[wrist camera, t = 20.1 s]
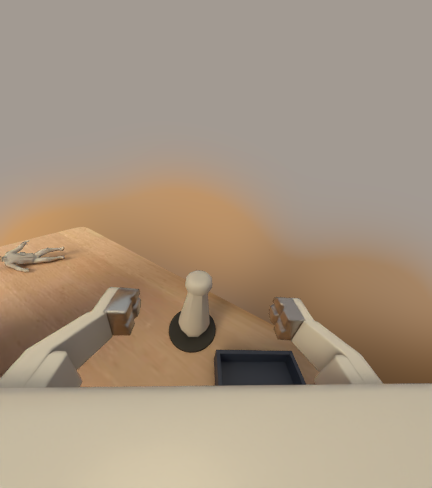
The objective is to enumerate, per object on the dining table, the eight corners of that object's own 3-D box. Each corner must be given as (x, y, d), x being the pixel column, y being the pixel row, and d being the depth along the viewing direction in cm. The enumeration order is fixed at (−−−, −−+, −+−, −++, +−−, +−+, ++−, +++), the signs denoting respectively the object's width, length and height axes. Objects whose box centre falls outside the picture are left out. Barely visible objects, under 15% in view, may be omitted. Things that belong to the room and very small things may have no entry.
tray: (219, 484, 17) (223, 480, 16) (214, 358, 28) (216, 349, 27) (331, 475, 19) (343, 470, 18) (286, 359, 30) (291, 350, 28)
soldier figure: (65, 268, 43) (-14, 273, 33) (61, 272, 46) (-12, 278, 36) (64, 240, 44) (-11, 237, 35) (61, 246, 47) (-9, 244, 38)
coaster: (171, 359, 27) (171, 357, 27) (167, 313, 34) (167, 312, 34) (221, 344, 30) (222, 343, 30) (207, 305, 37) (208, 304, 37)
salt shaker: (189, 349, 28) (194, 296, 22) (172, 324, 32) (173, 272, 26) (214, 330, 32) (225, 279, 26) (197, 310, 36) (202, 261, 29)
